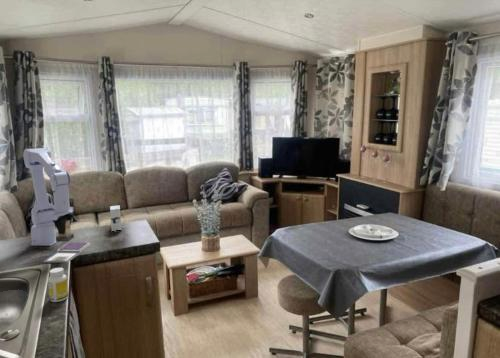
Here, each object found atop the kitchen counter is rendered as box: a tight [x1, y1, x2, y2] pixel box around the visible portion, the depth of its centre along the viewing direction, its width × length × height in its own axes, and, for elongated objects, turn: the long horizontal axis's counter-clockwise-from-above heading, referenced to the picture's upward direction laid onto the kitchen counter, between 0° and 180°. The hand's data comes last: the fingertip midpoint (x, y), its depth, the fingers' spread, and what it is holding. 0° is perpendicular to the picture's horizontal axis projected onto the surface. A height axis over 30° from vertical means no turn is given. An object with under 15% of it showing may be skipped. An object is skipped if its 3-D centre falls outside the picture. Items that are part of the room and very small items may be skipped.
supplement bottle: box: [47, 267, 69, 303], centre depth 119 cm, size 5×5×10 cm
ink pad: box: [56, 241, 91, 254], centre depth 165 cm, size 10×10×1 cm
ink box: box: [109, 204, 122, 232], centre depth 192 cm, size 8×5×12 cm, turn 21°
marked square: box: [43, 251, 81, 263], centre depth 154 cm, size 10×10×1 cm
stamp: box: [56, 220, 75, 243], centre depth 156 cm, size 5×5×8 cm
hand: (64, 232), depth 156 cm, fingers closed on stamp, 3 cm apart
